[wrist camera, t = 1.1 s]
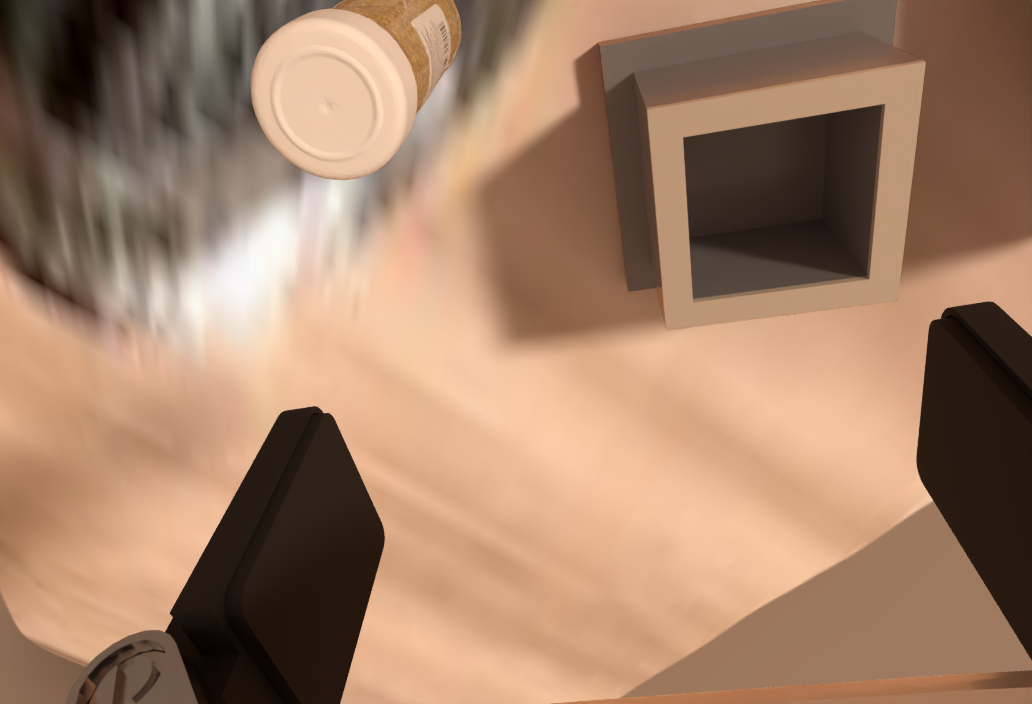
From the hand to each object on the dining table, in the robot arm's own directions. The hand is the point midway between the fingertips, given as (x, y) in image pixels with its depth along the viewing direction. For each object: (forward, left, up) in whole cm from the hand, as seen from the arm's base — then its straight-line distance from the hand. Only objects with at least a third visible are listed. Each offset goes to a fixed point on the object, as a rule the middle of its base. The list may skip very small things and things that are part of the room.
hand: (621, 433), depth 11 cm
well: (+4, +7, -25) cm, 26 cm away
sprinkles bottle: (-4, -7, -25) cm, 26 cm away
